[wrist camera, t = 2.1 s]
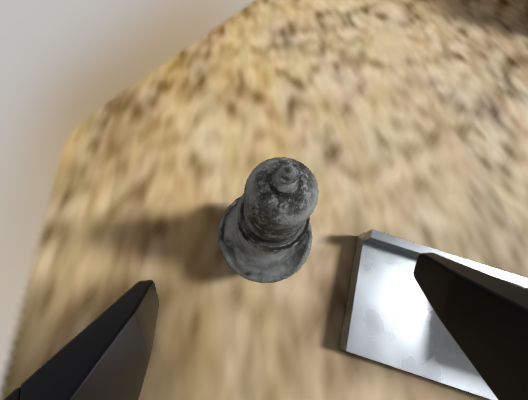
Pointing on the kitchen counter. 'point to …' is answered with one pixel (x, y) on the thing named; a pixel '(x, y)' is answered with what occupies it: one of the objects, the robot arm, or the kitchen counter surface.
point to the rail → (405, 314)
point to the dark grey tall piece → (270, 222)
